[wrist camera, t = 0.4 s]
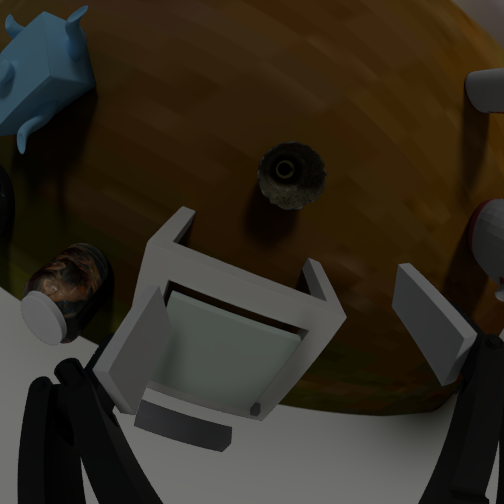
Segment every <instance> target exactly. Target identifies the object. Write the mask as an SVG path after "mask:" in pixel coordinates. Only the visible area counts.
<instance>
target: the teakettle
mask: <svg viewBox="0 0 504 504" xmlns="http://www.w3.org/2000/svg"><path fill="white" fill-rule="evenodd" d="M87 9H88V6H83V7H81V8H80V9H78V10H77V11H75V12H74V13H73V14H72V15H71V16H70V17H69V18H68V20H67V21H65V20H63V19H61V18H58V17H56V16H54V15H52V14H50V13H47V12H45V11H44V12H43V13H41V14H40V15H39V16H38V17H36V18H35V19H34V20H33V21H32V22H31V23H30V24H29V25H28V26H26V27H22V26H20V25H19V24H17V23H16V22H15V21H14V19H13V17H12V15H8V17H7V18H6V21H5V28H6V31H7V33H8V34H9V35H10V36H11V38H12V39H13V40H12V41H11V42H10V43H9V44H8V45H7V47H6V48H5V49H4V50H3V51H2V52H1V53H0V136H5V135H13V134H17V145H18V149H19V152H20V153H21V154H24V152H25V148H26V142H27V138H28V136H29V135H30V134H31V133H32V132H36V131H37V130H38V129H40V128H42V127H43V126H44V125H46V124H47V123H48V122H49V121H50V120H51V118H53V117H54V116H55V115H56V114H57V113H59V112H60V111H61V110H63V109H64V108H65V107H67V106H68V105H69V104H71V103H72V102H73V101H75V100H76V99H78V98H79V97H80V96H82V95H83V94H85V93H86V92H88V91H89V90H91V89H92V88H94V87H95V86H96V82H95V78H94V74H93V70H92V66H91V62H90V58H89V53H88V49H87V44H86V43H87V41H86V36H85V33H84V30H83V29H82V28H81V27H80V25H79V22H80V19H81V18H82V16H83V15H84V14H85V12H86V11H87Z"/></svg>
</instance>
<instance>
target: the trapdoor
mask: <svg viewBox="0 0 504 504" xmlns="http://www.w3.org/2000/svg"><path fill="white" fill-rule="evenodd" d="M166 310H167V314H168V317H169V320H170V323H171V328H170V330H169V333H168V335H167V337H166V340H165V342H164V344H163V347H162V349H161V352H160V354H159V356H158V359H157V361H156V364H155V366H154V369H153V371H152V374H151V376H150V378H149V380H151V381H154V382H156V383H159V384H161V385H164V386H167V387H170V388H172V389H175V390H178V391H181V392H184V393H187V394H190V395H193V396H197V397H200V398H203V399H206V400H210V401H213V402H217V403H220V404H224V405H228V406H232V407H236V408H240V409H244V410H249V409H250V408H251V407H252V406H253V404H254V403H255V402H256V401H257V400H258V398H259V397H260V396H261V395H262V393H263V392H264V391H265V390H266V388H267V387H268V386H269V384H270V383H271V382H272V381H273V379H274V378H275V377H276V375H277V374H278V373H279V371H280V370H281V369H282V367H283V366H284V365H285V363H286V362H287V361H288V359H289V358H290V357H291V355H292V354H293V353H294V351H295V350H296V348H297V347H298V346H299V344H300V343H301V338H300V336H299V335H296V334H293V333H290V332H287V331H283V330H280V329H277V328H274V327H271V326H268V325H265V324H262V323H259V322H256V321H253V320H250V319H248V318H245V317H242V316H239V315H236V314H233V313H231V312H228V311H225V310H222V309H220V308H217V307H214V306H212V305H209V304H206V303H204V302H201V301H198V300H196V299H193V298H191V297H188V296H186V295H183V294H181V293H178V292H176V291H172V293H171V295H170V298H169V301H168V305H167V308H166ZM134 426H136V427H139V428H141V429H144V430H146V431H149V432H152V433H155V434H158V435H161V436H164V437H167V438H170V439H173V440H177V441H180V442H183V443H187V444H191V445H194V446H198V447H202V448H206V449H211V450H215V451H220V452H223V451H224V450H225V449H226V448H227V447H228V446H229V445H230V444H231V437H232V436H231V435H232V427H229V426H224V425H221V424H217V423H213V422H209V421H205V420H202V419H198V418H195V417H191V416H188V415H185V414H182V413H179V412H176V411H172V410H170V409H167V408H164V407H161V406H158V405H155V404H153V403H150V402H147V401H145V400H141V402H140V405H139V408H138V411H137V414H136V418H135V423H134Z"/></svg>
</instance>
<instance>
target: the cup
mask: <svg viewBox="0 0 504 504" xmlns="http://www.w3.org/2000/svg"><path fill="white" fill-rule="evenodd" d="M320 158H321V157H320V155H319V154H317V153H316V152H315V151H313V150H312V148H311V147H310V146H307V145H304V144H302V143H300V142H295V141H293V142H282V143H280V144H278V145H277V146H275V147H273V148H272V149H270V150H269V151H267V152H266V154H265V155H264V157H263V158H262V159H261V161H260V163H259V169H258V173H257V178H258V179H259V180H258V182H259V187H260V189H261V190H262V193H263V195H264V196H265V197H266V198H269V200H270V203H272V204H276V205H278V206H279V207H280V208H282V209H284V210H290V209H296V210H300V209H302V207H303V205H305V204H308V203H309V202H310V201H313V202H314V201H316V200H317V199H318V195H319V194H321V193H322V192H323V190H324V189H325V179H324V177H326V176H327V173H326V172H325V171H324V170H323V168H324V162H323V160H322V159H320ZM282 163H287V164H288V165H289V166H290V168H291V170H290V173H289V174H287V175H282V174H280V172H279V170H278V168H279V166H280V164H282Z"/></svg>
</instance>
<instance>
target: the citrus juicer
mask: <svg viewBox="0 0 504 504" xmlns="http://www.w3.org/2000/svg"><path fill="white" fill-rule="evenodd" d="M468 244H469V248H470V250H471V252H472V254H473V256H474V258H475V260H476V261H477V262H478V264H479V265H480V267H481V268H482V269H483V270H484V271H485V273H486V274H487V275H488V276H489V277H490V278H491V279H492V280H493V281H494V282H496V283H497V284H498V285H499V286H500V287H499V288H498V289H497V290H496V291H495V296H496V298H497V299H498V300H500V301H503V302H504V199H491V200H487V201H485V202H483V203H482V204H481V205H480V206H479V207H478V208H477V209H476V211H475V213H474V215H473V217H472V219H471V222H470V226H469V231H468Z"/></svg>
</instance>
